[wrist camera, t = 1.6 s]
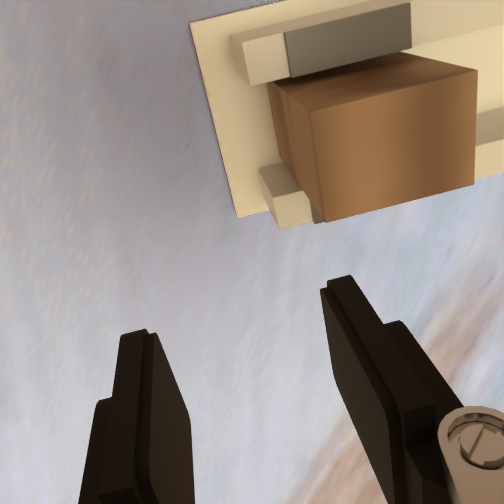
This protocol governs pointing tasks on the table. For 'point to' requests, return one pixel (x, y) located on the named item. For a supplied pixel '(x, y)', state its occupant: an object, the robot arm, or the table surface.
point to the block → (377, 131)
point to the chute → (329, 56)
